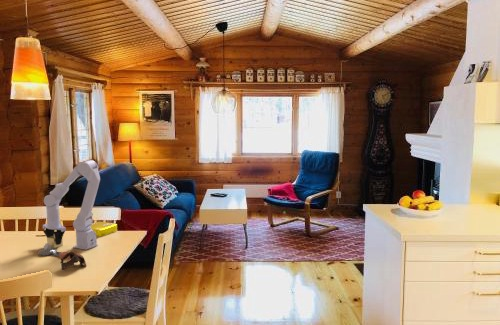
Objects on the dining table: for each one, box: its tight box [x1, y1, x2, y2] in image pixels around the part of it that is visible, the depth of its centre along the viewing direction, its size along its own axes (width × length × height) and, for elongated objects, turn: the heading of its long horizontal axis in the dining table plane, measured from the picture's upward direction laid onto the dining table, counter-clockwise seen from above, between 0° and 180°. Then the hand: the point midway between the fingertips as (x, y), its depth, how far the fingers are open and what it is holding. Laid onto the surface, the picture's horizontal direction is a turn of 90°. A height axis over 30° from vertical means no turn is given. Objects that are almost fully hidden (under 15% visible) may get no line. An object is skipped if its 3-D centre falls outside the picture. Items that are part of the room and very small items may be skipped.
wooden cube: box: [46, 235, 64, 248], centre depth 206 cm, size 5×5×5 cm
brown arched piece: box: [60, 250, 87, 270], centre depth 177 cm, size 12×10×8 cm
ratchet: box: [38, 242, 71, 260], centre depth 192 cm, size 22×8×5 cm, turn 65°
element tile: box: [91, 221, 118, 238], centre depth 231 cm, size 15×15×5 cm
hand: (55, 243), depth 206 cm, fingers closed on wooden cube, 5 cm apart
